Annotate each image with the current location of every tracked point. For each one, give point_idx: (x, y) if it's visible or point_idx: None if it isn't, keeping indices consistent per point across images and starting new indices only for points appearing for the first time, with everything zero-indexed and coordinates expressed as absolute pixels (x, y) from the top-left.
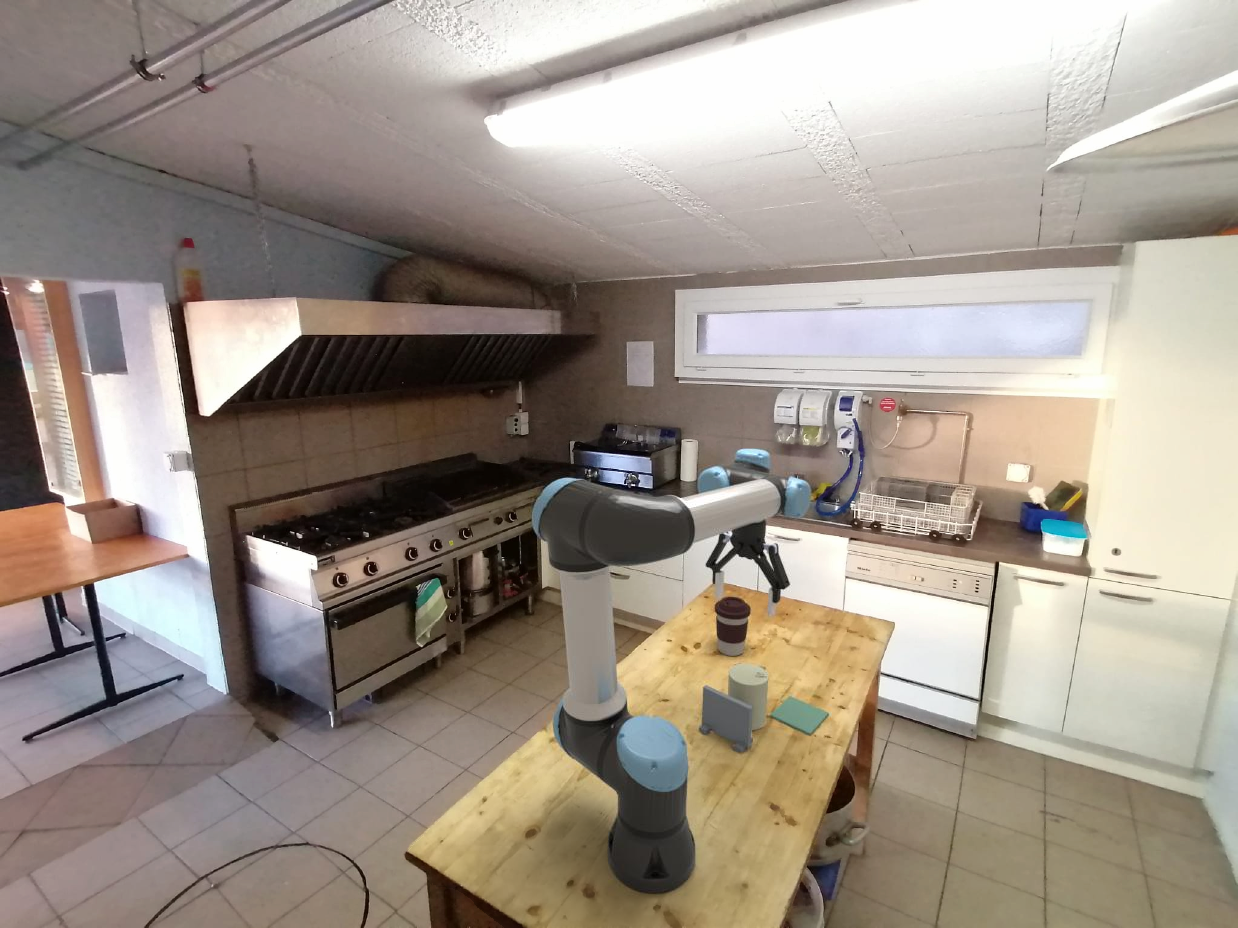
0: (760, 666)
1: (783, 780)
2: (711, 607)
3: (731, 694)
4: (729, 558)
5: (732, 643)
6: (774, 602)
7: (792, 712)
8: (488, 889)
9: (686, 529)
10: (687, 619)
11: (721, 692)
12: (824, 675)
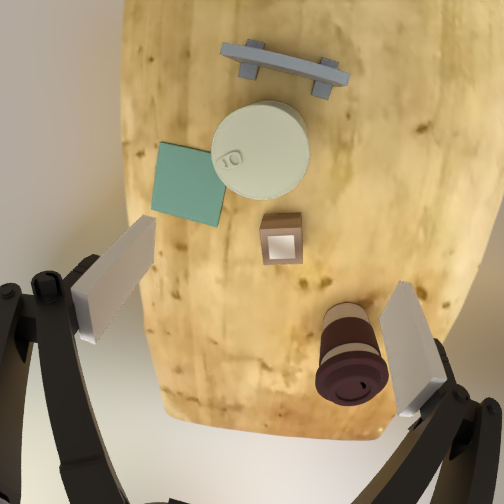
0: (273, 262)
1: (172, 22)
2: (387, 400)
3: (292, 114)
4: (383, 490)
5: (341, 317)
6: (100, 256)
7: (199, 182)
8: None
9: None
10: None
11: (303, 71)
12: (188, 303)
